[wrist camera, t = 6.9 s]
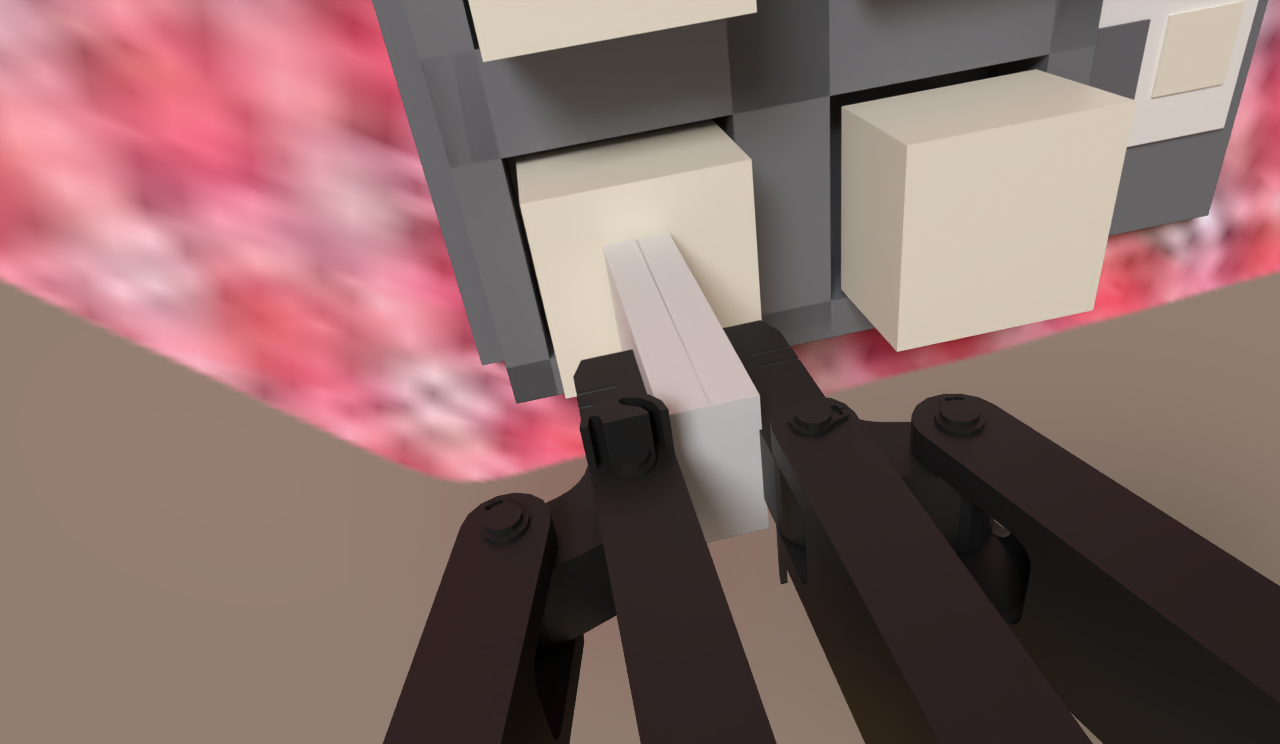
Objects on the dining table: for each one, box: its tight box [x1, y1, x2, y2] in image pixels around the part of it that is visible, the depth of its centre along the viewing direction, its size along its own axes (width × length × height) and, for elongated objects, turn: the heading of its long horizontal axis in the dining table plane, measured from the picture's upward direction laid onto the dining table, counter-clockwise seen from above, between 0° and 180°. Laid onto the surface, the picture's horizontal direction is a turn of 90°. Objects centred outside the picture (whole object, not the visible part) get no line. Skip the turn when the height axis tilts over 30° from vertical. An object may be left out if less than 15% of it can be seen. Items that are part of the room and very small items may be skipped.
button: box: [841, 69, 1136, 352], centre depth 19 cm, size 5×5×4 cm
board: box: [372, 0, 1268, 404], centre depth 19 cm, size 24×16×4 cm, turn 98°
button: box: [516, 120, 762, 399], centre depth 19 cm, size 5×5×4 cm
